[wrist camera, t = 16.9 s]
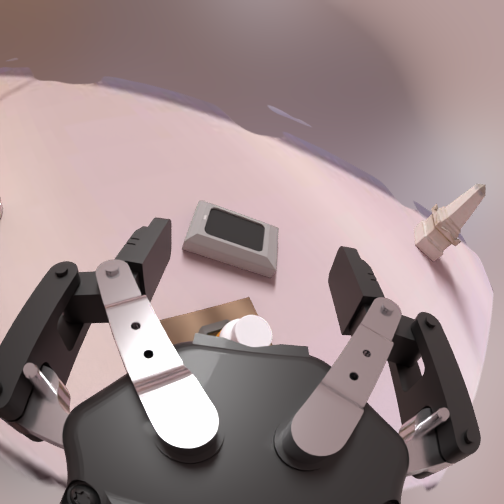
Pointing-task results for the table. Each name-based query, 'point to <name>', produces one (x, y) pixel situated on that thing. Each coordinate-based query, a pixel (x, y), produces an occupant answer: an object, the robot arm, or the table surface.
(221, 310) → the carrier plate
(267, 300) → the table surface
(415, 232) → the miniature monument
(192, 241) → the grey flat boxy piece
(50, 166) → the table surface
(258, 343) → the supplement bottle
